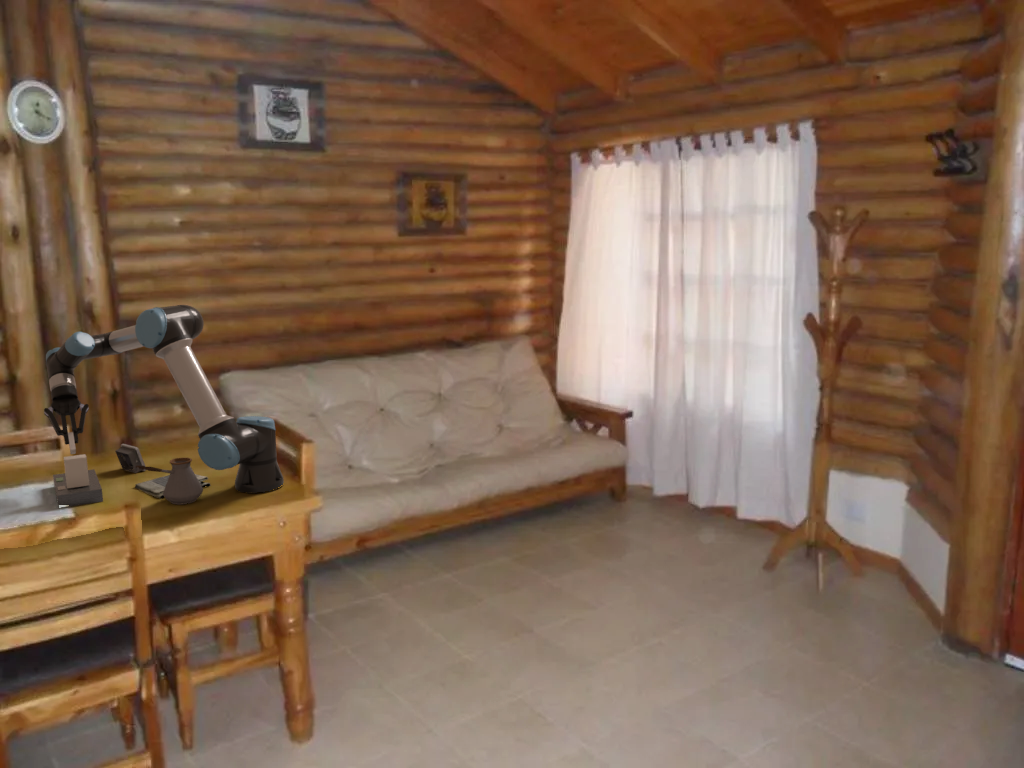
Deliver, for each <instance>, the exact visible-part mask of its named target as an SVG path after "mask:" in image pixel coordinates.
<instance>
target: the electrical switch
mask: <svg viewBox="0 0 1024 768" xmlns="http://www.w3.org/2000/svg"><path fill="white" fill-rule="evenodd" d="M115 454H116V457H117V459H118V461H119V464H120V466H121V469H122V470H124V471H126V472H131V473H134V474H137V473H139V472H141V471H142V472H145V471H147V470H145V469H144V470H142V469H139V470H138V468H136V467H135V466H145V467H147V466H146V464H145V461H144V459H143V457H142V456H143V455H142V454H141V450H140V448H139V447H137V446H134V445H130V444H126V443H122V444H120V447H119V448H117V449H116V450H115ZM134 467H135V468H134ZM133 468H134V471H133ZM137 471H138V472H137ZM135 472H136V473H135Z"/></svg>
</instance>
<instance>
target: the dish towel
mask: <svg viewBox="0 0 1024 768" xmlns="http://www.w3.org/2000/svg"><path fill="white" fill-rule="evenodd" d="M194 474H195V475H196V477H197V479H198V481H199V482H200V484H201V486H202V488H203V487H205V486H212V485H211V483H210V482H205V481H208V480H209V477H208V476H204V475H200V474H196V473H194ZM169 475H170V474H168V475H163V476H160V477H157V478H153V479H149V480H146V481H142V482H139V483H136V484H135V485H134V486H135V487H134V488H135V489H137V490H140V491H142V492H143V493H145V494H147V495H150V496H151V495H152V497H153V496H154V497H153V498H156V499H158V498H159V500H161V499H165V498H164V496H163V492H164V489H165V486H166V484H167V481H168V478H169ZM203 489H204V488H203Z"/></svg>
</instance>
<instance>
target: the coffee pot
mask: <svg viewBox="0 0 1024 768" xmlns="http://www.w3.org/2000/svg"><path fill="white" fill-rule="evenodd" d="M192 461H193V459H192V458H191V457H176V458H172V459H171V460H169V464H170V465H171V467H172V468H171V470H170V469H169V470H168V469H162V468H158V467H153V466H146V465H145V466H146V467H145V466H135V467H136V468H138V470H139V469H142V470H144V469H145V470H146V471H149V472H157V473H165V474H168V475H169V478H168V481H167V484H166V486H165V489H164V492H163V496H164V497H165V498H164V499H166V500H167V501H168V502H170V503H171V504H173V505H187V503H188V504H191V503H194V502H196V501H197V500H198V498H200V497H201V496H202V494H203V491H204V488H202V486H201V484H200V482H199V481H198V479H197V477H196V475H195V474H196V473H195V472H194V469H192V467H191V463H192ZM135 467H134V468H135ZM134 468H133V469H132V470H133V471H134ZM137 473H139V472H138V471H137ZM137 473H136V472H135V473H134V474H137Z"/></svg>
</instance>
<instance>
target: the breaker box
mask: <svg viewBox="0 0 1024 768" xmlns="http://www.w3.org/2000/svg"><path fill="white" fill-rule="evenodd" d="M88 476H89V485H88V486H81V487H74V488H67V484H66V475H65V472H63V473H57V474H52V477H53V486H54V487H55V488H54V491H55V497H56V496H57V497H56V502H57V501H58V502H57V505H69V506H71V507H76V506H82V505H89V504H95V503H101V502H104V498H103V497H104V496H103V488H102V486H101V483H100V480H99V478H98V476H97V473H96V470H95V468H94V469H88Z"/></svg>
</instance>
